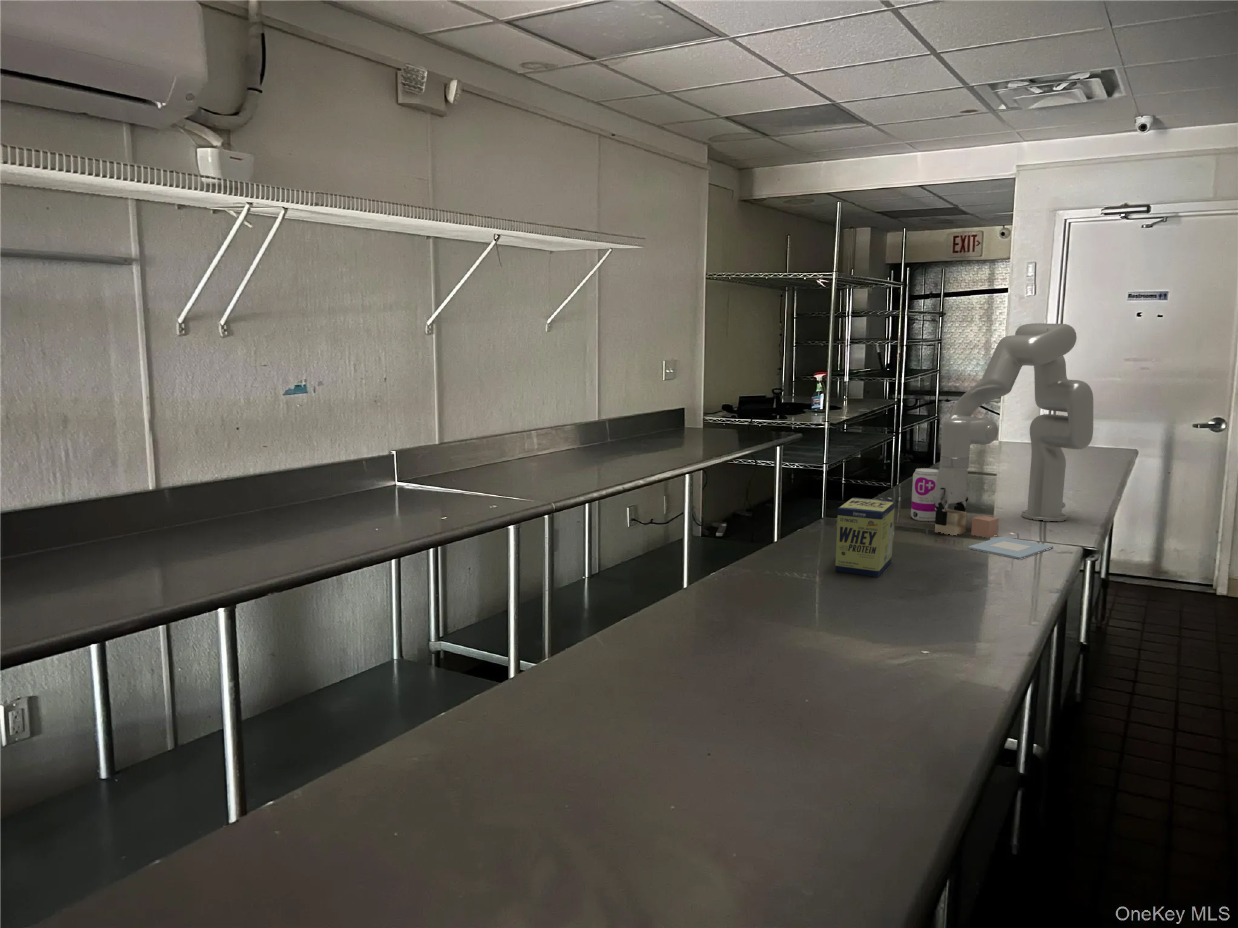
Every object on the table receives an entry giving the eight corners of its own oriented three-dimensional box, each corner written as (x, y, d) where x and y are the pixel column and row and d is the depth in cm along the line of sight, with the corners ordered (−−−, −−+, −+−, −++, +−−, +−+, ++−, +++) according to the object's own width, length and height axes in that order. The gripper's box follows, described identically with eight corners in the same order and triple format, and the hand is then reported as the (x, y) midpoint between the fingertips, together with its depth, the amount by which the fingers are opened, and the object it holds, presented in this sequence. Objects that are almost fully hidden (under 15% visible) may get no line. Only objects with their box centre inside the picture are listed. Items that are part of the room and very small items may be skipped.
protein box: (834, 571, 210) (837, 507, 208) (849, 556, 224) (852, 496, 221) (879, 577, 205) (882, 512, 203) (892, 562, 219) (895, 500, 217)
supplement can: (934, 523, 262) (937, 473, 260) (906, 519, 267) (909, 470, 265) (943, 518, 269) (946, 469, 266) (915, 514, 273) (918, 467, 271)
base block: (946, 529, 255) (947, 508, 254) (965, 532, 251) (966, 512, 250) (934, 532, 251) (936, 511, 250) (954, 536, 247) (955, 514, 246)
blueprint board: (1001, 538, 244) (1001, 535, 243) (1053, 548, 233) (1053, 545, 233) (967, 548, 232) (967, 546, 232) (1020, 559, 222) (1020, 556, 221)
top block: (980, 532, 251) (981, 515, 250) (997, 535, 247) (998, 518, 246) (971, 535, 248) (972, 517, 247) (988, 538, 244) (989, 520, 243)
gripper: (958, 458, 256) (953, 516, 259) (925, 463, 245) (921, 524, 248) (982, 462, 250) (978, 521, 253) (950, 467, 239) (945, 528, 242)
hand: (949, 522), depth 250 cm, fingers open, 9 cm apart
